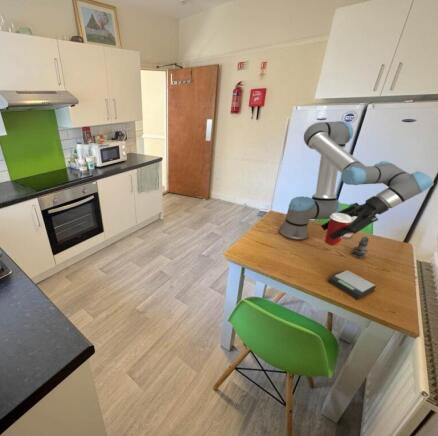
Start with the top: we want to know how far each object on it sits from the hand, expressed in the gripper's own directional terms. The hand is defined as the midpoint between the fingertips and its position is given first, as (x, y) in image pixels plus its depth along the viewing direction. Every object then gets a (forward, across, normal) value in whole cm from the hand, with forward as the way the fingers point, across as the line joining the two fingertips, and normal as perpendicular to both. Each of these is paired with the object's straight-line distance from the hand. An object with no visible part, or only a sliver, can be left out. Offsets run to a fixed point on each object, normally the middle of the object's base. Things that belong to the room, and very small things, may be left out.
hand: (326, 232), depth 109 cm
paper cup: (+1, 0, -6) cm, 6 cm away
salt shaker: (-4, +15, -34) cm, 37 cm away
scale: (+7, -11, -23) cm, 26 cm away
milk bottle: (-6, +37, -36) cm, 52 cm away
